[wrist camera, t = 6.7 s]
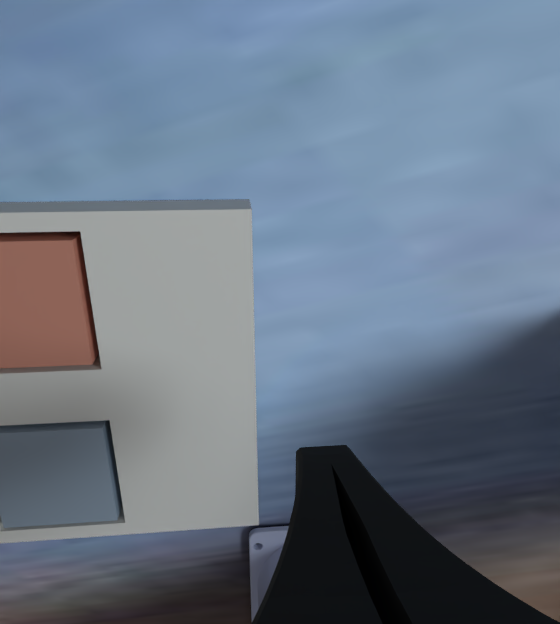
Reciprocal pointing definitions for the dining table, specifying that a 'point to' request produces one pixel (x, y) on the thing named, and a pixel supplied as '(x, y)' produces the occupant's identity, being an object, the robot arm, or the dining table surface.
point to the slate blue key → (58, 474)
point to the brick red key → (45, 301)
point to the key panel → (155, 361)
